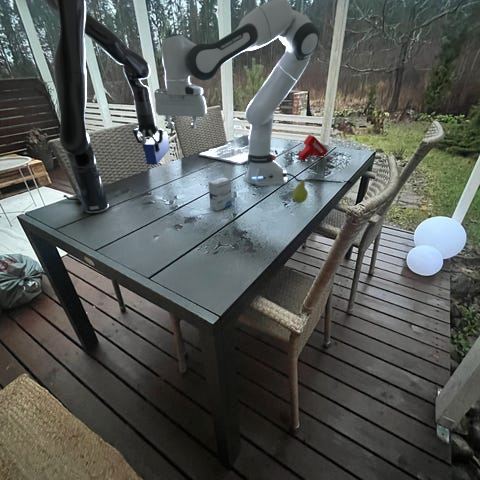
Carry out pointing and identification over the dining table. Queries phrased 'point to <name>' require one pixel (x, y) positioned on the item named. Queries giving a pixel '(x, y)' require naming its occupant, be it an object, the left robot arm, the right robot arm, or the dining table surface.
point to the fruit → (300, 192)
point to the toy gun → (312, 148)
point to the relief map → (228, 153)
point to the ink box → (220, 193)
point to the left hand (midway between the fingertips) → (152, 151)
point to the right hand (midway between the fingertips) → (182, 128)
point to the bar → (150, 149)
